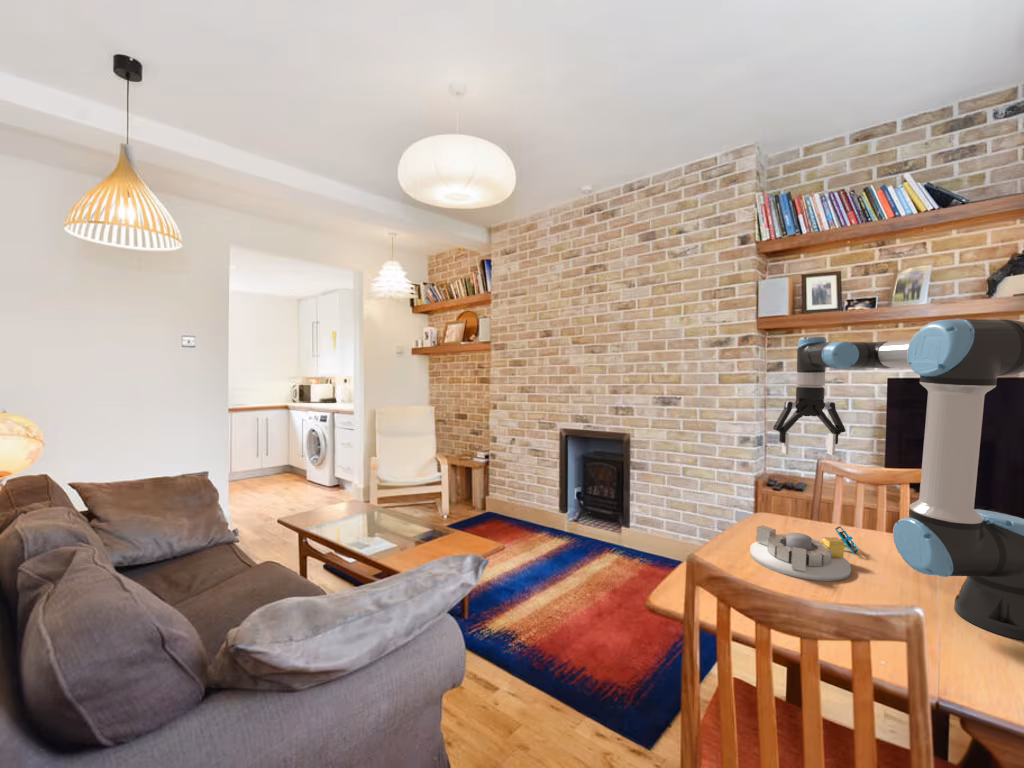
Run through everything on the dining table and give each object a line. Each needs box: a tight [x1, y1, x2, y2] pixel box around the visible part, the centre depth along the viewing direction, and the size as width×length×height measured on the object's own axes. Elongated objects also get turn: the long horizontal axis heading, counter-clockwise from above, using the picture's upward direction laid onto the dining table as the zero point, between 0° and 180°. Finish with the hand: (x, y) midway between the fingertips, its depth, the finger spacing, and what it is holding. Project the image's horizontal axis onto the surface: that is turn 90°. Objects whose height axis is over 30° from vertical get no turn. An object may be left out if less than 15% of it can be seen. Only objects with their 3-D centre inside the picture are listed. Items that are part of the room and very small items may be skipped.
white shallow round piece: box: [749, 532, 852, 582], centre depth 131 cm, size 24×24×7 cm
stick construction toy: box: [834, 525, 859, 554], centre depth 141 cm, size 12×7×8 cm
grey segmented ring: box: [755, 525, 845, 572], centre depth 131 cm, size 21×19×4 cm
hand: (807, 454), depth 147 cm, fingers open, 13 cm apart
